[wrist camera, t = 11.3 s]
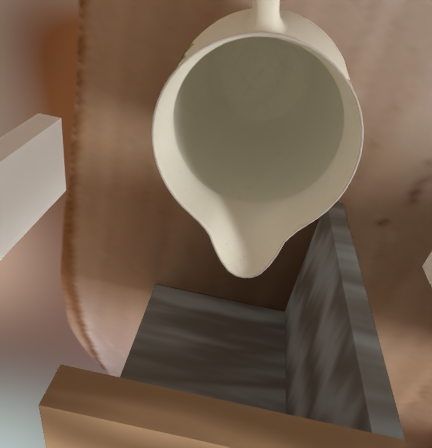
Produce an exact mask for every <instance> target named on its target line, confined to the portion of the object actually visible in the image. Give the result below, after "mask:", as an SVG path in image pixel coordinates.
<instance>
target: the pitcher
mask: <svg viewBox="0 0 432 448" xmlns="http://www.w3.org/2000/svg"><path fill="white" fill-rule="evenodd" d="M279 3H280V0H253V2H252V8H250V9H245V10H241V11H238V12H235V13H232V14H229V15H227V16H225V17H223V18H221V19H219V20H217V21H216V22H215V23H213V24H212V25H210V26H209V27H208V28H206V29H205V30H204V31H203V32H202V33H201V34H200V35H199V36H198V37H197V38H196V39H195V40H194V41H193V42H192V44H191V45H190V46H189V47H188V49H187V50H186V52H185V54H184V55H183V57H182V59H181V60H180V62H179V65H178V67H177V68H176V69H175V71H174V72H173V73H172V74H171V75H170V77H169V78H168V80H167V82H166V83H165V85H164V86H163V88H162V90H161V92H160V95H159V97H158V99H157V102H156V106H155V109H154V113H153V119H152V127H151V139H152V148H153V154H154V158H155V162H156V166H157V168H158V171H159V173H160V176H161V178H162V180H163V182H164V184H165V185H166V187H167V189H168V190H169V192H170V193H171V195H172V196H173V197H174V199H175V200H176V201H177V202H178V203H179V204H180V206H181V207H182V208H183V209H184V210H185V211H187V212H188V213H189V214H190V215H191V216H192V217H193V218H194V219H195V220H196V221H197V222H198V223H199V224H200V225H201V226H202V227H203V228H204V229H205V231H206V232H207V234H208V235H209V237H210V240H211V243H212V245H213V247H214V250H215V252H216V254H217V256H218V258H219V260H220V261H221V263H222V264H223V266H224V267H225V268H226V270H227V271H228V272H230V273H231V274H233V275H234V276H237V277H241V278H253V277H255V276H258V275H260V274H261V273H262V272H263V271H264V270H266V269H267V268H268V267H269V266H270V264H271V263H272V262H273V260H274V259H275V258H276V256H277V255H278V253H279V252H280V250H281V248H282V246H283V245H284V243H285V242H286V241H287V240H288V239H289V238H290V237H291V236H292V235H294V234H295V233H296V232H297V231H299V230H301V229H302V228H304V227H305V226H307V225H308V224H310V223H312V222H313V221H315V220H316V219H318V218H319V217H320V216H321V215H323V214H324V213H325V212H327V211H328V210H329V209H330V208H331V207H332V206H333V205H334V204H335V203H336V202H337V201H338V199H339V198H340V197H341V195H342V194H343V193H344V192H345V190H346V189H347V187H348V185H349V184H350V182H351V180H352V178H353V176H354V174H355V172H356V169H357V167H358V164H359V160H360V157H361V153H362V146H363V132H364V127H363V119H362V112H361V109H360V105H359V102H358V99H357V97H356V94H355V92H354V90H353V88H352V84H351V80H350V76H349V72H348V69H347V66H346V64H345V61H344V59H343V57H342V55H341V53H340V52H339V50H338V48H337V47H336V45H335V44H334V42H333V41H332V40H331V39H330V38H329V36H328V35H327V34H326V33H325V32H324V31H323V30H322V29H321V28H319V27H318V26H317V25H316V24H315V23H313V22H311V21H310V20H308V19H307V18H305V17H303V16H301V15H298V14H296V13H294V12H291V11H288V10H284V9H280V8H279Z"/></svg>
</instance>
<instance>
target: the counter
mask: <svg viewBox="0 0 432 448" xmlns="http://www.w3.org/2000/svg"><path fill="white" fill-rule="evenodd" d="M39 409H40V415H41V421H42V427H43V433H44V439H45V444H46V448H407V446H406V442H405V438H404V434H403V431H402V427H401V423H400V419H399V415H398V411H397V408H396V404H395V400H394V396H393V392H392V389H391V385H390V381H389V377H388V373H387V370H386V366H385V362H384V358H383V354H382V351H381V347H380V343H379V339H378V335H377V331H376V328H375V324H374V320H373V316H372V312H371V309H370V305H369V301H368V297H367V293H366V290H365V286H364V282H363V278H362V274H361V271H360V267H359V263H358V259H357V255H356V251H355V248H354V244H353V240H352V236H351V232H350V229H349V225H348V221H347V217H346V213H345V210H344V206H343V204H342V203H337V202H336V203H335V204H334V205H333V206H332V207H331V208H330V209H329V210H328V211H327V212H325V213H324V214H323V215H321V216H320V219H319V221H318V224H317V227H316V229H315V232H314V235H313V237H312V240H311V243H310V245H309V248H308V251H307V253H306V256H305V259H304V261H303V264H302V267H301V269H300V272H299V275H298V277H297V280H296V283H295V285H294V288H293V291H292V293H291V296H290V299H289V301H288V304H287V307H286V309H285V312H283V311H278V310H273V309H269V308H264V307H259V306H255V305H250V304H245V303H241V302H236V301H231V300H227V299H222V298H217V297H213V296H208V295H203V294H198V293H194V292H189V291H184V290H180V289H175V288H170V287H166V286H161V285H156V284H155V287H154V290H153V292H152V295H151V298H150V300H149V303H148V305H147V308H146V311H145V313H144V316H143V319H142V321H141V324H140V326H139V329H138V332H137V334H136V337H135V340H134V342H133V345H132V347H131V350H130V353H129V355H128V358H127V360H126V363H125V366H124V368H123V371H122V374H121V376H120V378H119V377H115V376H110V375H106V374H101V373H96V372H91V371H87V370H82V369H78V368H73V367H69V366H64V365H60V367H59V369H58V371H57V372H56V374H55V376H54V378H53V380H52V382H51V384H50V386H49V387H48V389H47V391H46V393H45V395H44V396H43V398H42V400H41V402H40V404H39Z"/></svg>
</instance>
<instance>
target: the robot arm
mask: <svg viewBox="0 0 432 448" xmlns="http://www.w3.org/2000/svg"><path fill="white" fill-rule="evenodd" d="M65 191H66V181H65V166H64V151H63V136H62V121H61V118H59V117H54V116H49V115H44V114H40V113H38V114H36V115H35V116H33V117H32V118H30V119H29V120H27V121H25V122H24V123H22V124H21V125H19V126H18V127H16V128H14V129H13V130H11V131H10V132H8V133H7V134H5V135H3V136H2V137H0V260H1V259H2V258H3V257H4V256H5V255H6V254H7V253H8V252H9V251H10V250H11V249H12V248H13V247H14V245H15V244H16V243H17V242H18V241H19V240H20V239H21V238H22V237H23V236H24V235H25V234H26V233H27V231H29V229H30V228H31V227H32V226H33V225H34V224H35V223H36V222H37V221H38V220H39V219H40V217H42V216H43V214H44V213H45V212H46V211H47V210H48V209H49V208H50V207H51V206H52V205H53V204H54V203H55V202H56V201H57V200H58V199H59V197H60V196H61V195H62V194H63V193H64V192H65ZM422 267H423V270H424V272H425V274H426V276H427V279H428V281H429V283H430V285H431V287H432V251H431V253H430V254H429V256H428V258H427V259H426V261H425V263H424V264H423V266H422Z"/></svg>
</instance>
